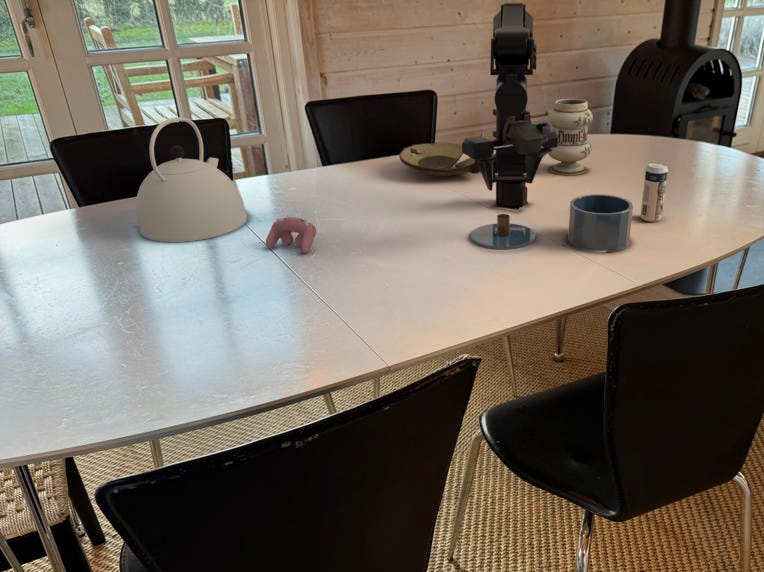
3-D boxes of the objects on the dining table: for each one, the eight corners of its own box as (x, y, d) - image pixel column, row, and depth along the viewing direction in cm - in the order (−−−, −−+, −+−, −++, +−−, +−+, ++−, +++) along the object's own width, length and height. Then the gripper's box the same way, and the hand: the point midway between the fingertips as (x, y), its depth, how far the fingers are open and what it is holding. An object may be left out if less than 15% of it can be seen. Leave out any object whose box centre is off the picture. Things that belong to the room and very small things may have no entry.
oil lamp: (454, 156, 196) (453, 129, 192) (511, 180, 175) (512, 151, 171) (385, 168, 186) (383, 140, 182) (437, 196, 165) (436, 164, 161)
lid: (459, 245, 137) (459, 221, 134) (489, 224, 147) (489, 201, 144) (518, 256, 132) (519, 231, 129) (545, 234, 142) (546, 211, 139)
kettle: (184, 201, 163) (160, 104, 151) (269, 206, 159) (251, 107, 147) (117, 238, 142) (83, 129, 131) (213, 245, 138) (187, 133, 127)
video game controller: (317, 255, 137) (320, 221, 136) (304, 253, 133) (308, 218, 132) (276, 249, 140) (279, 216, 139) (262, 247, 136) (266, 213, 135)
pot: (558, 246, 136) (560, 208, 132) (580, 227, 145) (583, 191, 141) (617, 257, 131) (621, 218, 127) (635, 236, 140) (640, 199, 136)
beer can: (661, 223, 147) (669, 169, 140) (639, 222, 148) (646, 167, 141) (661, 216, 151) (668, 162, 144) (639, 214, 152) (646, 161, 145)
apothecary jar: (546, 163, 188) (549, 96, 179) (589, 164, 187) (595, 97, 178) (544, 175, 178) (547, 105, 169) (589, 177, 177) (595, 106, 167)
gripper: (488, 118, 115) (488, 205, 124) (576, 107, 123) (571, 190, 131) (459, 107, 124) (461, 189, 132) (544, 97, 131) (541, 175, 139)
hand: (510, 186), depth 133 cm, fingers open, 9 cm apart
